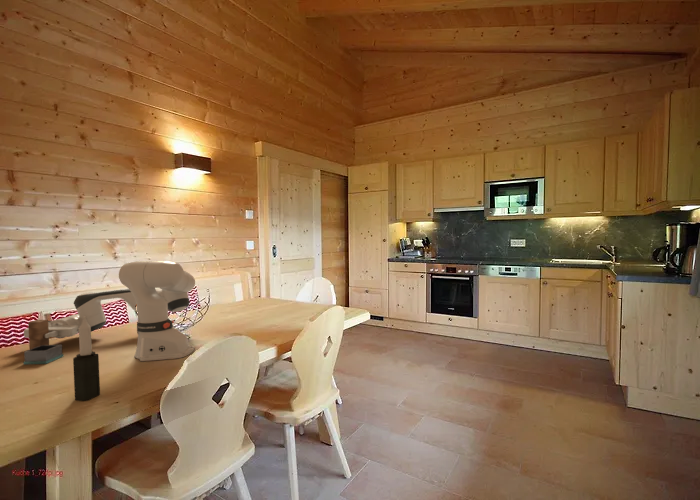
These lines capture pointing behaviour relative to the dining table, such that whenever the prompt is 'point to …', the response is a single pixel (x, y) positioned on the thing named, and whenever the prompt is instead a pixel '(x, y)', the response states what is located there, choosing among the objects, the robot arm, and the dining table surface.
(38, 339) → the link block
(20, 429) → the dining table surface
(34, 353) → the keeper collar
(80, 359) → the candle
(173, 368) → the dining table surface
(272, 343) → the dining table surface
